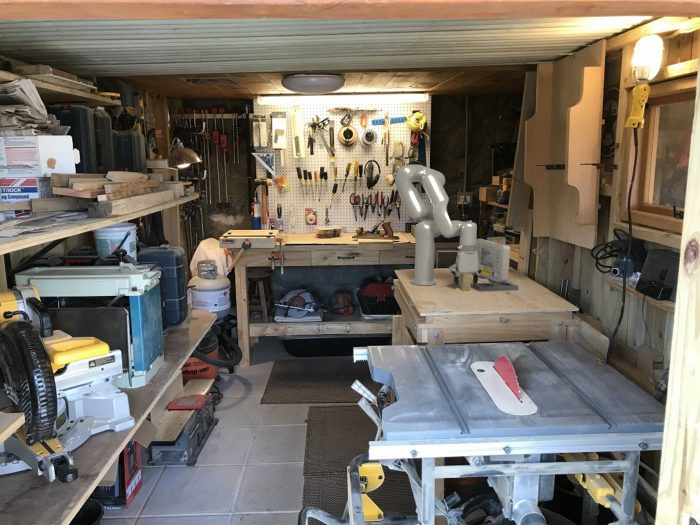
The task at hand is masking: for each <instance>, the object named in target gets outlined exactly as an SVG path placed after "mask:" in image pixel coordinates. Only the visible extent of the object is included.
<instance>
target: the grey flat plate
mask: <svg viewBox="0 0 700 525" xmlns="http://www.w3.org/2000/svg"><path fill="white" fill-rule="evenodd" d="M474 288H475V290H476V289H477V291H478V290H479V291H478V292H499V291H501V292H502V291H503V292H504V291H519V285H516V284H515V283H513V282H509V281H507V282H502V283H500V282H490V283H485V282H481V283H480V282H479V283H478V282H477V284H475V283H473V282H472V289H474Z"/></svg>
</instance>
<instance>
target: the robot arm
mask: <svg viewBox="0 0 700 525" xmlns="http://www.w3.org/2000/svg"><path fill="white" fill-rule="evenodd" d="M415 182H417V183H420V184H421V185H422V188H423V189H424V191H425V194H426V196H427V198H428V200H427V199H422V198H421V196H420V194H419V191H418V189H417V188H416V187H415V186H414V184H413V183H415ZM394 183H395V187H396V190H397V192H398V194H399V196H400V198H401V200H402V202H403V204H404V206H405V209H406V211H407V213H408V215H409V217H410V218H411V219H412V220H415V221H416V220H418V221H419V220H420V221H419V222H418V223H417V224H416V226H415V227H414V238H415V239H414V240H415V249H414V250H415V253H414V271H413V272H414V274H413V278H412V279H410V282H411V284H412V285H413V284H414V285H417V286H425V287H426V286H434V285H436V284H437V280H436V279H434V270H435V253H436V252H435V251H436V247H435V245H436V244H435V238H437V237H440V236H441V235H442V237H444V238H445V239H446V238H447V239H450V238H453V237H459V244H458V246H456V249H457V250H458V251H457V255H456V259H455V263H454V264H452V265H450V266H449V267H448V268H449V270H450V272H451V274H452V275H453V283H454V285H456V286H459V281H460V273H469V274H472V273H473V276H472V278H473V279H472V284H473V283H475V284H477V283H478V282H479V280H478V278H479V277H478V276H479V274H480V273H481V272H482V270H483V268H484V266H482V265H480V264H478V253H477V251H476V239H477V233H478V232H477V230H478V226H477V223H476V222H472V221H461V220H451V219H450V216H449V214H448V208H447V207H448V203H449V200H450V199H449V198H450V197H449V196H448V194H447V192H446V190H445V188H444V186H445V184H446V178H445V175H444V174H443V173H442V172H440V171H438V170H435V169H433V168H429V167H427V166H425V165H422V164H405V165H402V166H400V168H398V170H397V171H396V174H395V176H394ZM478 266H479V267H480V268H479V270H478ZM454 269H455V271H454Z"/></svg>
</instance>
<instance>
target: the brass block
mask: <svg viewBox="0 0 700 525" xmlns="http://www.w3.org/2000/svg"><path fill="white" fill-rule="evenodd" d="M471 283H472V273H460V274H459V283H458V286H459V287H458V289H459V290H460V291H461V290H462V291H461V292H470V291H471V286H472V284H471Z"/></svg>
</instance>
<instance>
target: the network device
mask: <svg viewBox="0 0 700 525" xmlns="http://www.w3.org/2000/svg"><path fill="white" fill-rule="evenodd" d="M476 251H477V253H478V264H480V265H482V266H484V268H483V270H482V272H481V273H480V274H479V276H478V281H480V280H481V281H480V282H482V281H483V282H482V283H491V282H497V283H502V282H508V281H509V269H510V260H511V259H510V257H511V247H510V246H509V245H506V244H503V243H498V242H495V241H491V240H486V239H483V238H476ZM479 268H480V267H479V266H478V270H479Z"/></svg>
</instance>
